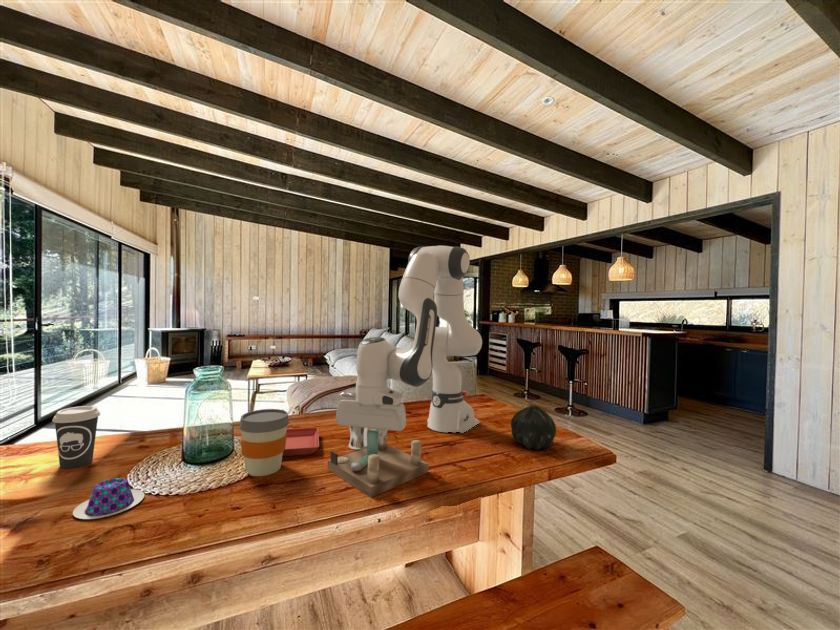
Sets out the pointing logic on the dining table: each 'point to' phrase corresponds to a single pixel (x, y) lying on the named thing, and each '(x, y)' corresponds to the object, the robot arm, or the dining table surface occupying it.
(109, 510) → the purple patterned hat
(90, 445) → the coffee cup
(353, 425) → the robot arm
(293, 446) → the plant saucer
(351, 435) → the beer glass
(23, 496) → the dining table surface
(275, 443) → the reusable coffee cup
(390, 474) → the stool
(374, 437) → the folding leg
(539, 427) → the squash
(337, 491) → the dining table surface
